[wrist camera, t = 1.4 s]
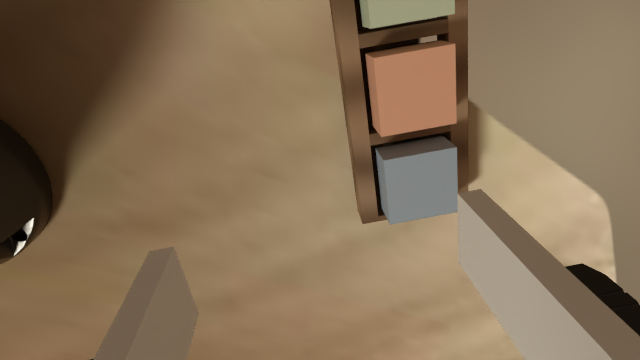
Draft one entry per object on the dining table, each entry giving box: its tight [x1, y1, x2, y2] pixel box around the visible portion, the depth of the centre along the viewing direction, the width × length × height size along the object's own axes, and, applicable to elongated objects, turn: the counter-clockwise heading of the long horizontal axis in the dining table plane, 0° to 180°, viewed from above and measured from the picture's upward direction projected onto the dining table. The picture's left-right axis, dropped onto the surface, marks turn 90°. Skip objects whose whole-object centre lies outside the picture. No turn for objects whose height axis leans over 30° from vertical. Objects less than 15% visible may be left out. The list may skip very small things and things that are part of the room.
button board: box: [330, 0, 468, 224], centre depth 33 cm, size 24×10×2 cm, turn 9°
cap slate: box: [375, 136, 458, 224], centre depth 35 cm, size 6×6×3 cm
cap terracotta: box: [365, 40, 457, 137], centre depth 31 cm, size 6×6×3 cm
